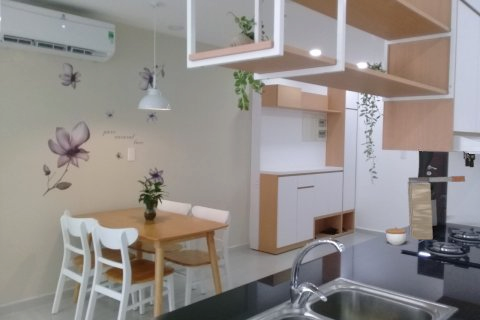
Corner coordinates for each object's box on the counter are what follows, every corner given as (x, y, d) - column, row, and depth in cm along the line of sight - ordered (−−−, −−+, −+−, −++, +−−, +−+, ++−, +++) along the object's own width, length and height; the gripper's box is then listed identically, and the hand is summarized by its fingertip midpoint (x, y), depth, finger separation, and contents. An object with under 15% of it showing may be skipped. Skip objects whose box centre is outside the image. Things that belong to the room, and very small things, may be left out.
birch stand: (410, 234, 258) (407, 177, 258) (427, 234, 256) (425, 176, 256) (414, 239, 244) (411, 178, 243) (432, 239, 241) (430, 178, 241)
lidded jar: (392, 241, 242) (392, 224, 242) (410, 243, 234) (409, 226, 233) (382, 244, 235) (381, 227, 235) (400, 247, 227) (399, 229, 227)
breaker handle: (428, 182, 250) (428, 177, 250) (463, 181, 245) (463, 175, 245) (430, 182, 246) (429, 177, 246) (464, 181, 242) (464, 176, 242)
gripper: (458, 140, 259) (459, 166, 260) (465, 139, 245) (466, 167, 246) (471, 139, 258) (472, 166, 258) (479, 139, 244) (480, 167, 244)
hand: (469, 166), depth 252 cm, fingers open, 8 cm apart
